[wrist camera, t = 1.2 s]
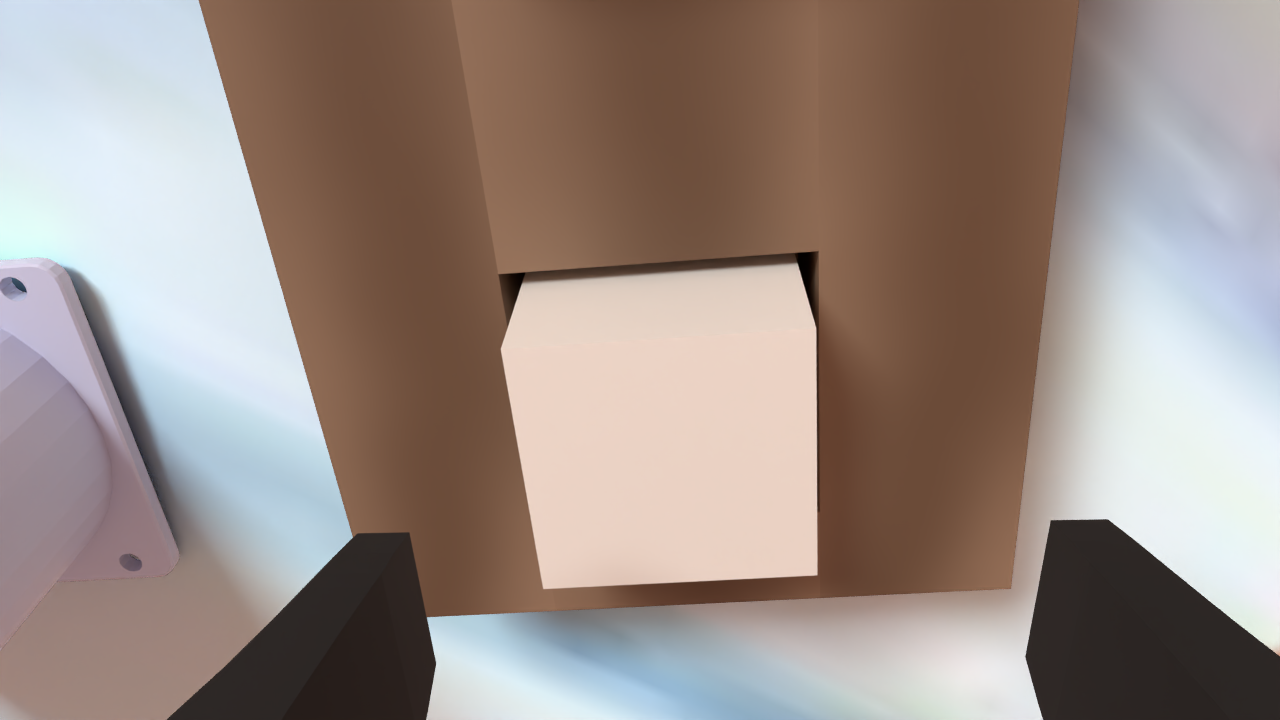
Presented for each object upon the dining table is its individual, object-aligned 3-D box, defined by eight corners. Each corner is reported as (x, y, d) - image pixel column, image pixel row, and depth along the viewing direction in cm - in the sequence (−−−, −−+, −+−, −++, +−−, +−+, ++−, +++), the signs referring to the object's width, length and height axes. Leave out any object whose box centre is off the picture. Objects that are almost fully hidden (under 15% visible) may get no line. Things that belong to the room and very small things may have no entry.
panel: (422, 495, 23) (376, 619, 19) (130, -728, 13) (-70, -932, 10) (955, 464, 22) (1010, 588, 18) (1056, -861, 12) (1211, -1138, 9)
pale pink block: (561, 480, 19) (543, 589, 16) (528, 265, 16) (500, 349, 14) (796, 467, 18) (817, 575, 16) (792, 246, 16) (816, 328, 14)
